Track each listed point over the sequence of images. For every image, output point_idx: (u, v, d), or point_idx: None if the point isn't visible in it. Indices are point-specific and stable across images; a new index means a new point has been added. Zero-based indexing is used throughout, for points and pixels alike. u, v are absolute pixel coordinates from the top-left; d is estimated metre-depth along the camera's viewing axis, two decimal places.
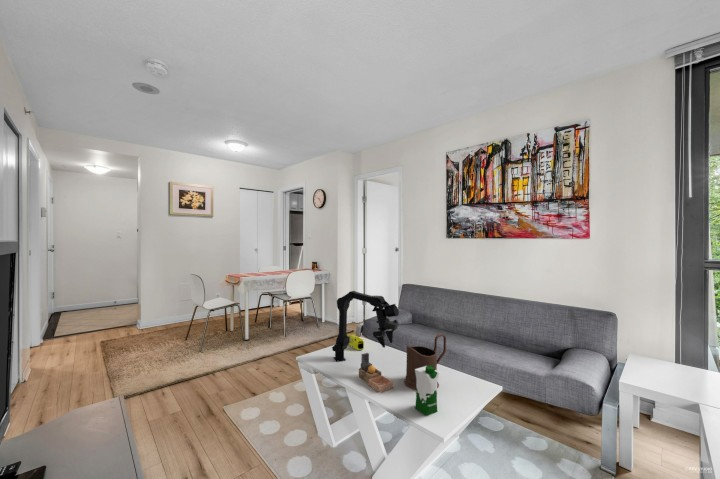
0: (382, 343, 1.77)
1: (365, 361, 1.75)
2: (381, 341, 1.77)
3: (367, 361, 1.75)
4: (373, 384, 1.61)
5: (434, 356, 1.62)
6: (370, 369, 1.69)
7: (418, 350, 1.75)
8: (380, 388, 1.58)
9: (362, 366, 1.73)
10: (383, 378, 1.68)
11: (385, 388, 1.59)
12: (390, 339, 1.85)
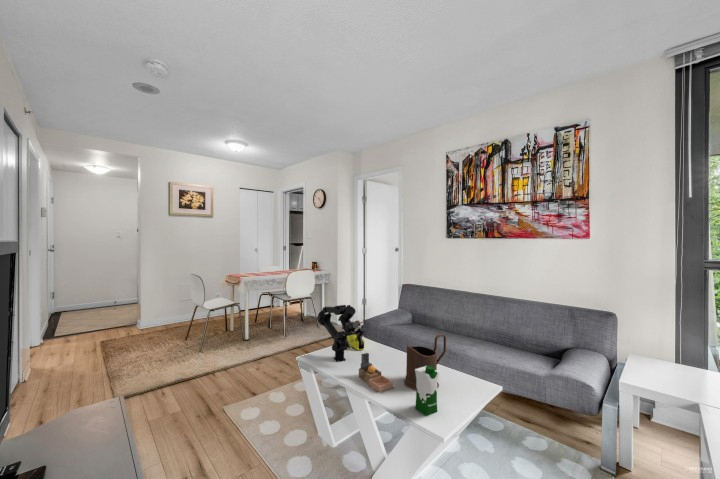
0: (346, 344, 1.82)
1: (365, 361, 1.75)
2: (345, 343, 1.83)
3: (367, 361, 1.75)
4: (373, 384, 1.61)
5: (434, 356, 1.62)
6: (370, 369, 1.69)
7: (418, 350, 1.75)
8: (380, 388, 1.58)
9: (362, 366, 1.73)
10: (383, 378, 1.68)
11: (385, 388, 1.59)
12: (360, 342, 1.87)
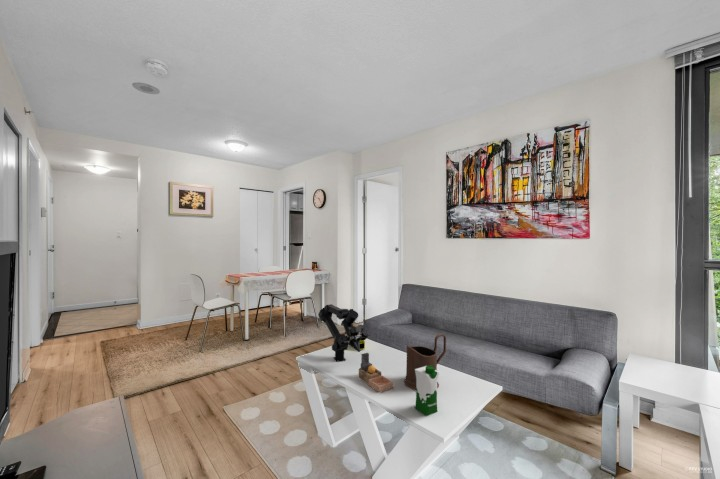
0: (355, 347, 1.81)
1: (365, 361, 1.75)
2: (354, 346, 1.82)
3: (367, 361, 1.75)
4: (373, 384, 1.61)
5: (434, 356, 1.62)
6: (370, 369, 1.69)
7: (418, 350, 1.75)
8: (380, 388, 1.58)
9: (362, 366, 1.73)
10: (383, 378, 1.68)
11: (385, 388, 1.59)
12: None
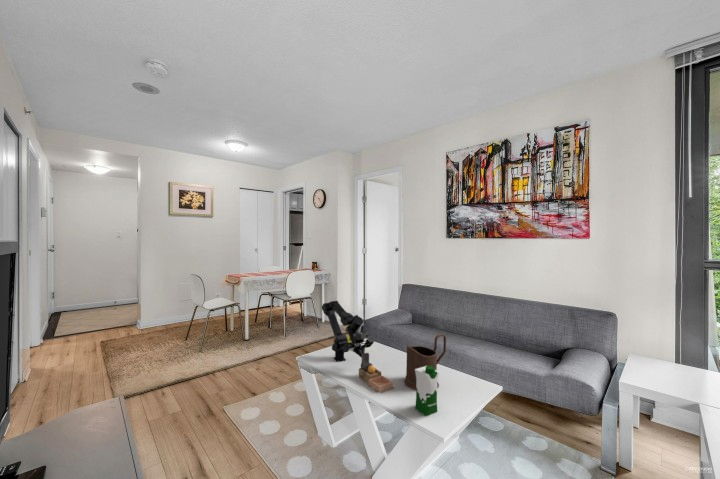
0: (360, 355, 1.77)
1: (366, 361, 1.75)
2: (359, 353, 1.78)
3: (367, 361, 1.75)
4: (373, 384, 1.61)
5: (434, 356, 1.62)
6: (370, 369, 1.69)
7: (418, 350, 1.75)
8: (380, 388, 1.58)
9: (362, 366, 1.73)
10: (383, 378, 1.68)
11: (385, 388, 1.59)
12: None
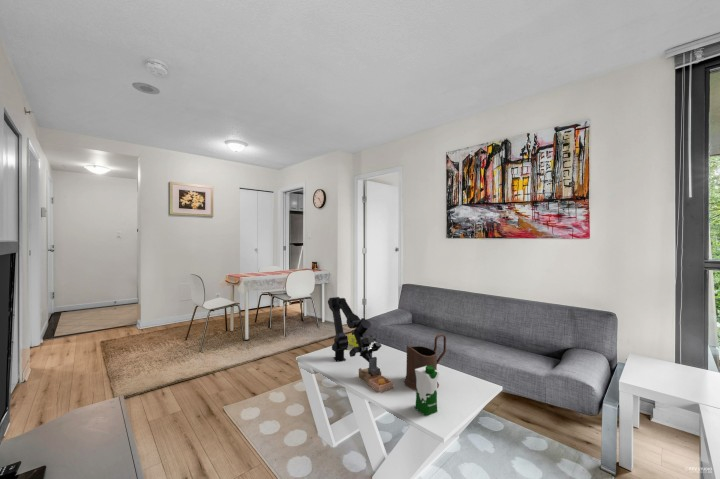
0: (368, 359, 1.71)
1: (373, 365, 1.69)
2: (366, 358, 1.72)
3: (375, 366, 1.69)
4: (373, 384, 1.61)
5: (434, 356, 1.62)
6: (379, 380, 1.62)
7: (418, 350, 1.75)
8: (380, 388, 1.58)
9: (370, 370, 1.67)
10: (383, 378, 1.68)
11: (385, 388, 1.59)
12: None
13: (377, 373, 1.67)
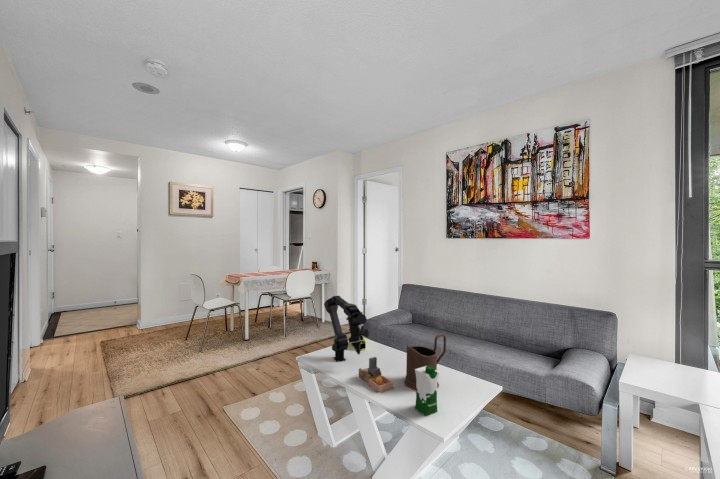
0: (357, 349, 1.80)
1: (373, 365, 1.69)
2: (357, 347, 1.80)
3: (375, 366, 1.69)
4: (373, 384, 1.61)
5: (434, 356, 1.62)
6: (375, 380, 1.65)
7: (418, 350, 1.75)
8: (380, 388, 1.58)
9: (370, 370, 1.67)
10: (383, 378, 1.68)
11: (385, 388, 1.59)
12: None
13: (377, 373, 1.67)
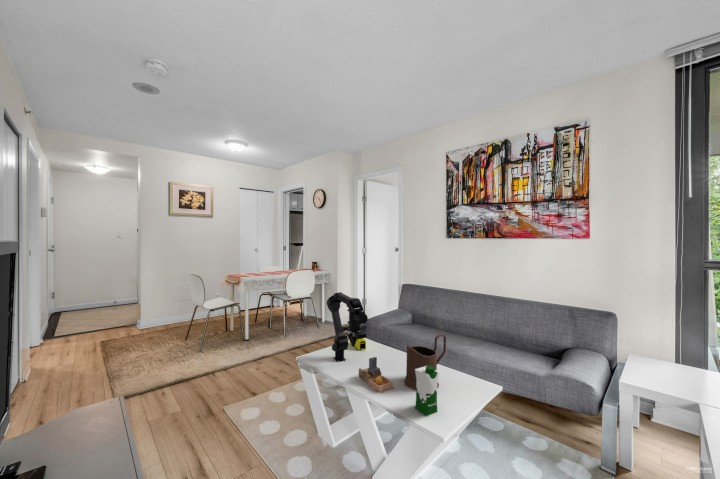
0: (354, 342, 1.85)
1: (373, 365, 1.69)
2: (354, 340, 1.84)
3: (375, 366, 1.69)
4: (373, 384, 1.61)
5: (434, 356, 1.62)
6: (375, 380, 1.65)
7: (418, 350, 1.75)
8: (380, 388, 1.58)
9: (370, 370, 1.67)
10: (383, 378, 1.68)
11: (385, 388, 1.59)
12: None
13: (377, 373, 1.67)
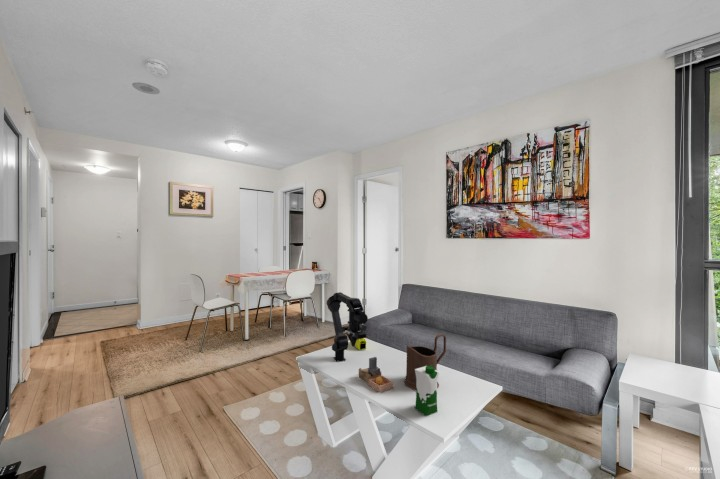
0: (354, 342, 1.85)
1: (373, 365, 1.69)
2: (354, 340, 1.84)
3: (375, 366, 1.69)
4: (373, 384, 1.61)
5: (434, 356, 1.62)
6: None
7: (418, 350, 1.75)
8: (380, 388, 1.58)
9: (370, 370, 1.67)
10: (383, 378, 1.68)
11: (385, 388, 1.59)
12: None
13: (377, 373, 1.67)
